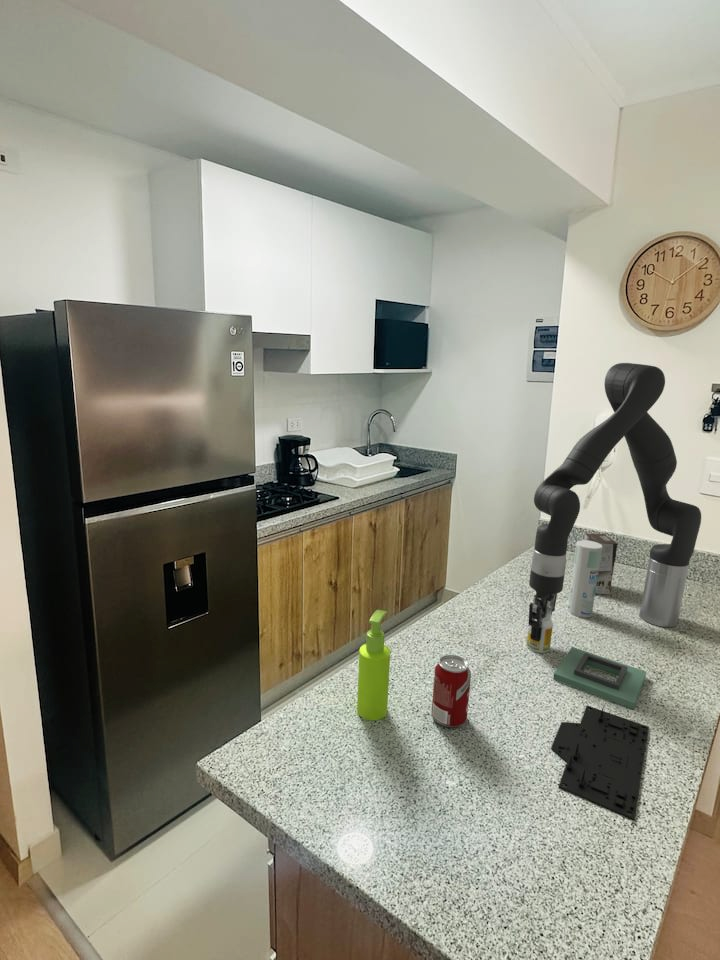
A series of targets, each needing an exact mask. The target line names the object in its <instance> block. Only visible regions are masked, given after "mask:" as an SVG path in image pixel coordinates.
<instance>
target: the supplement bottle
mask: <svg viewBox="0 0 720 960" xmlns="http://www.w3.org/2000/svg"><path fill="white" fill-rule="evenodd" d="M541 613H542V614H544V612H542V611H541ZM535 620H536V621H537V619H535ZM553 627H554V623H553V620H552V615H551V611H550V610H548V614H547V617H546V618H544V621H543V626H542V633H541V639H540V641H535V640H532V639H531V629H532V626H531V625H529V624H528V630H527V637H526V638H527V639H526V647H527V648H528V649H529V650H530V651H533V652H534V653H539V654H541V653H542V654H544V653H548V652H549V651H550V649H551V643H552V634H553Z"/></svg>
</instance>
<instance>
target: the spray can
mask: <svg viewBox="0 0 720 960" xmlns="http://www.w3.org/2000/svg"><path fill="white" fill-rule="evenodd" d="M601 554H602V545H601V544H599V543H597V542H594V541H588V540H584V539H581V540H578V541H576V542H575V552H574V557H573V558H574V559H573V565H572V576H571V582H570V591H569V595H568V596H569V598H568V605H567V611H568V612H569V614H571V615H572V616H575V617H579V618H582V619H583V618H584V619H585V618H586V619H587V618H590V617H591V616H592V614H593V609H594V603H595V599H596V598H595V596H596V594H595V591H596V585H597V579H598V573H599V566H600V560H601Z"/></svg>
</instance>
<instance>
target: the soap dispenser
mask: <svg viewBox="0 0 720 960" xmlns="http://www.w3.org/2000/svg"><path fill="white" fill-rule="evenodd" d="M387 613H388V611H387V610H381V609H377V610H375V611H374V613H373V614H372V616H371V617H370V618H369V622H368V623H369V624H371V628H370V629H369V630H368V631H367V632H366V643H364V644H362V645H361V646H360V648H359V650H358V651H359V653H358V672H357V673H358V675H357V679H358V680H357V700H356V703H357V704H356V712H357V714H358V716H359V717H361V718H362V719H364V720H367V721H379V720H382V719H384V718H385V717H386V715H388V714H387V713H388V701H389V698H388V697H389V681H390V665H391V664H390V663H391V649H390V648H389V647H388V645H386V644H385V632H384V631H382V630H381V625H382V624H381V622H382V620H383V619H384V617H385V616H386V615H387Z"/></svg>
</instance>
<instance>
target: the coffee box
mask: <svg viewBox="0 0 720 960" xmlns="http://www.w3.org/2000/svg"><path fill="white" fill-rule="evenodd" d="M583 540H588V541H594V542H597V543H599V544H601V545H602V554H601V560H600V566H599V573H598V579H597V585H596V591H595V595H596V594H598V595H610V593H611V588H612V581H613V575H614V569H615V562H616V556H617V552H618V551H617V550H618V545H619V544H618V542H616V541H615V540H613V539H612V538H611V537H609V536H608V535H606V534H605V533H584V539H583Z"/></svg>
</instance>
